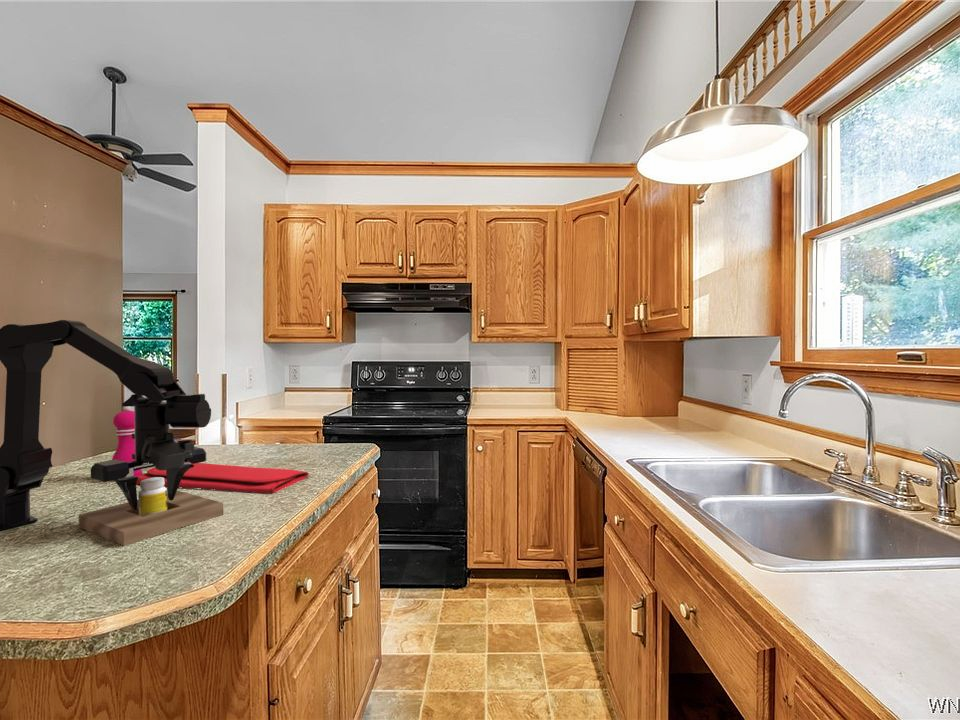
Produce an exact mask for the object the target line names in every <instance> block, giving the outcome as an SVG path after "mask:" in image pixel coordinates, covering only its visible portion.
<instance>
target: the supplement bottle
mask: <svg viewBox="0 0 960 720" xmlns="http://www.w3.org/2000/svg"><path fill="white" fill-rule="evenodd" d="M164 485H165V481H164V478H163V477H154V478H148V479H144V480H142V481H141V482H140V485H139V486H140V490H139V492H137V500H138V502H139V516H142V517H144V516H148V515H151V514H155V513H159V512H162V511H166V510H167V487H164Z"/></svg>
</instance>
